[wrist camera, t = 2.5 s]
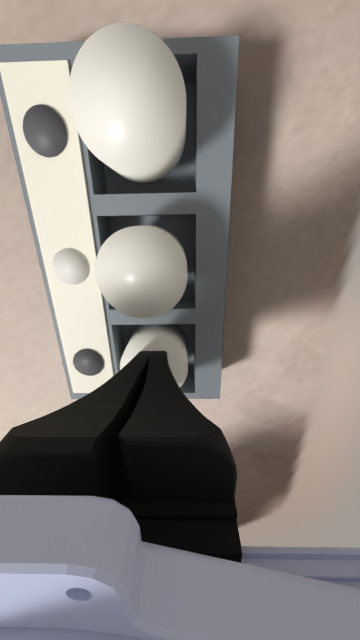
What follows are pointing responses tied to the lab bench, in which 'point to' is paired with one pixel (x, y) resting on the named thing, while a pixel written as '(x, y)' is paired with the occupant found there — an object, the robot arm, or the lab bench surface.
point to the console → (124, 206)
